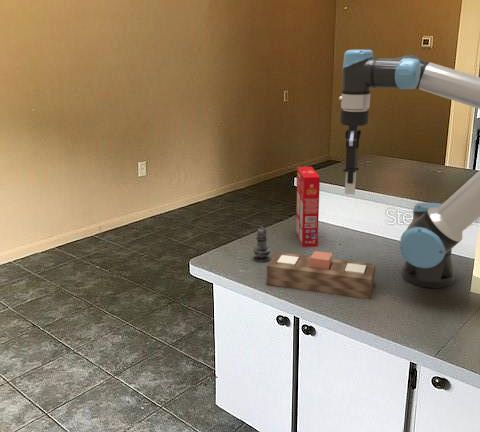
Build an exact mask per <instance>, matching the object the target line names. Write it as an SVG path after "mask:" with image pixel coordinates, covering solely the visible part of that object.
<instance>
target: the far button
mask: <svg viewBox="0 0 480 432" xmlns="http://www.w3.org/2000/svg"><path fill="white" fill-rule="evenodd" d="M298 261H299V257H294V256H286V255H281V257H280V258H279V260H278V261H277V264H284V265H291V266H296V264H297V263H298Z"/></svg>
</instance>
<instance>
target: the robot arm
mask: <svg viewBox="0 0 480 432" xmlns="http://www.w3.org/2000/svg"><path fill="white" fill-rule="evenodd" d="M342 64H343V65H342V75H341V81H342V82H341V96H339V97H338V100H339V101H341V102H340V108H341V111H340V115H339V116H340V117H339V122H340V124H341V125H343V126H348V129H346V131H345V137H344V138H345V148H346V149H345V150H346V151H345V168H344V169H343V170H342V171H343V173H344V172H345V183H344V186H345V187H344V195H355V194H356V180H357V178H356V177H357V171H359V167H358V155H359V154H358V152H359V147H360V142H361V136H362V130H359V128H360V127H363V126H366V125H368V124H369V116H370V115H369V114H370V112H369V110H368V109H370V105H371V104H370V103H371V102H370V101H371V89H372V88H373V89H375V88H377V89H379V88H380V89H394V90H395V89H397V90H401V91H403V90H414V89H417V90H421V91H423V92H427V93H430V94H433V95H435V96H436V95H437V96H438V97H441V98H445V99H447V100H451V101H454V102H457V103H460V104H463V105H466V106H469V107H472V108H476V109H479V110H480V76H476V75H473V74H470V73H466V72H464V71H460V70H458V69H457V70H456V69H453V68H451V67H446V66H443V65H441V64H437V63H435V62H434V63H433V62H429V61H427V60H423V59H421V58H419V57H417V56H415V55H411V54H405V55H403V56H400V57H388V58H387V57H374V51H373V50H372V49H348V50H346V51H344V54H343V62H342ZM412 213H413V216H412V221H411V222H410V223H409V225H408V226H407V228H406V229H405V230H404V232H403V233H402V235H401V236H400V239H399V240H400V241H399V252H400V254H401V256H402V257H403V259H404V260H405V261H404V263H403V264H402V269H401V277H402V278H403V279H404V280H405V281H407V282H408V283H410V284H413V285H415V286H418V287H422V288H423V287H424V288H431V289H439V288H446V287H450V286H451V285H453V284H454V283H455V279H456V272H455V268H454V263H453V259H452V252H453V251H452V250H453V248H454V247H455V246H456V245H458V244H459V243H460V242H461V241H462V240H463V232H464V231H465V230H466V229H467V228H469V227H471V225H472V224H473V223H474V222H476V221H477V220H478V219H480V169H479V171H477V172H476V173H475V174H474V175H472V177H471V178H469V179H468V180H467V181H466V182H465V183H464V184H463V185H462V186H461V187H460V188H459V189H457V190H456V191H455V192H454V193H453V194H451V196H450V197H448V198H447V200H445V201H444V202H443V203H439V202H438V203H437V202H419V203H416V204H415V205H414V206H413V211H412Z"/></svg>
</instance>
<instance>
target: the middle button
mask: <svg viewBox="0 0 480 432" xmlns="http://www.w3.org/2000/svg"><path fill="white" fill-rule="evenodd" d="M310 256H311V258H310V268H315V269H323V270H330V268H331V266H332V259H333V252H325V251H318V250H317V251H316V250H314V251H313V253H312V254H311V255H310Z"/></svg>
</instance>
